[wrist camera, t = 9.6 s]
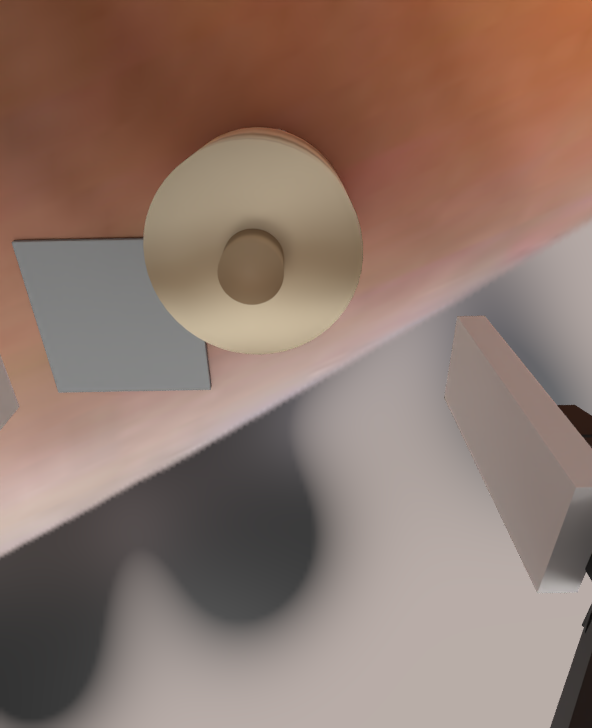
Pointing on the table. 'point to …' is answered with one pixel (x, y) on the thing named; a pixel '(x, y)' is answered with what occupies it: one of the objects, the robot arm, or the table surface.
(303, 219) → the beige round piece
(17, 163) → the table surface
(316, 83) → the table surface
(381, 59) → the table surface
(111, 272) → the mat
